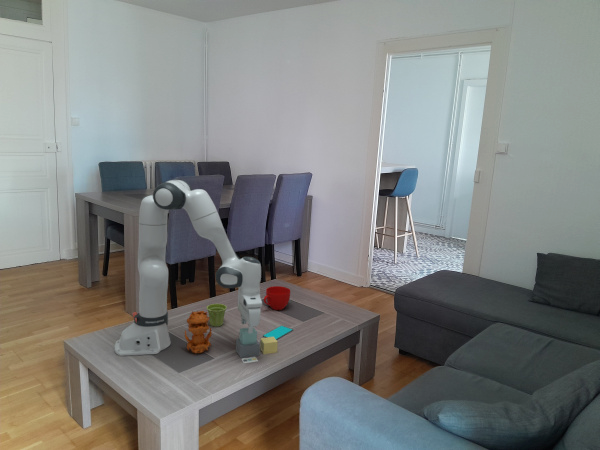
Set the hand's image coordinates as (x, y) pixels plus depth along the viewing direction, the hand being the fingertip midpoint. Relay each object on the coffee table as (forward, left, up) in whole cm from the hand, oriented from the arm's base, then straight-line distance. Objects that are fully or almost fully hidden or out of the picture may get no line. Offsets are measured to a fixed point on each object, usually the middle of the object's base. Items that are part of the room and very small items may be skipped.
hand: (246, 327), depth 183 cm
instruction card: (0, -7, -11) cm, 13 cm away
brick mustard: (+10, -1, -11) cm, 15 cm away
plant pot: (-5, +32, -11) cm, 34 cm away
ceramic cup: (+29, +43, -11) cm, 53 cm away
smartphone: (+20, +14, -12) cm, 27 cm away
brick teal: (+1, 0, -6) cm, 6 cm away
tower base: (+1, 0, -11) cm, 11 cm away
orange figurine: (-18, +8, -11) cm, 23 cm away
